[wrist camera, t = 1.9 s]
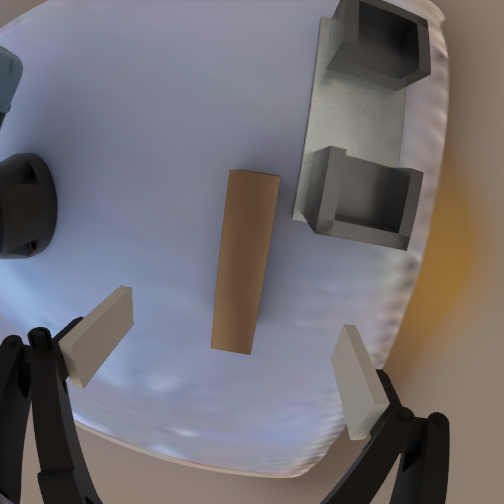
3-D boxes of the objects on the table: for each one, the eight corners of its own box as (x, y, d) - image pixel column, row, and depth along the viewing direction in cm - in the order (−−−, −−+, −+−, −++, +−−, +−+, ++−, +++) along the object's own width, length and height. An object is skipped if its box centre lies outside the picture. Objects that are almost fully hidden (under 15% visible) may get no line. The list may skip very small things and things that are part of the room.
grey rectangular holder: (291, 217, 27) (300, 237, 20) (320, 20, 20) (334, -18, 13) (380, 234, 27) (414, 258, 20) (402, 46, 20) (435, 21, 13)
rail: (220, 318, 32) (210, 348, 26) (238, 169, 26) (230, 169, 21) (253, 323, 32) (250, 354, 26) (277, 175, 26) (280, 177, 21)
